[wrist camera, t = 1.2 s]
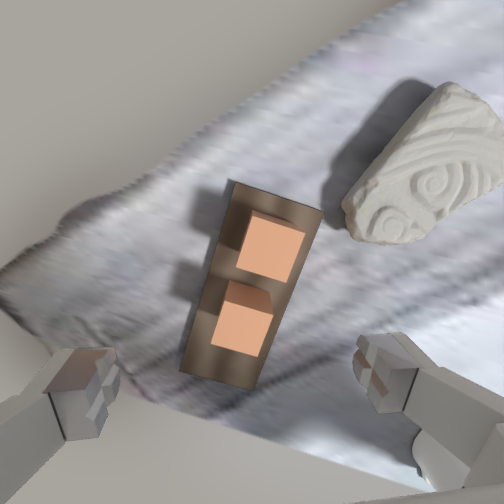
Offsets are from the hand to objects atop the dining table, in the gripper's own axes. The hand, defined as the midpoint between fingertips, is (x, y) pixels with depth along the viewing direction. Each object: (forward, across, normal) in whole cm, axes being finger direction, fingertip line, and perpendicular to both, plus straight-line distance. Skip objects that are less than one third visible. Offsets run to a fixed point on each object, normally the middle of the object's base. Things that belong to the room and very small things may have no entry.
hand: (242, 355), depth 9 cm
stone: (+28, +25, +4) cm, 38 cm away
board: (+28, +3, -15) cm, 32 cm away
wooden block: (+27, +2, -15) cm, 31 cm away
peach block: (+27, +6, -5) cm, 28 cm away
